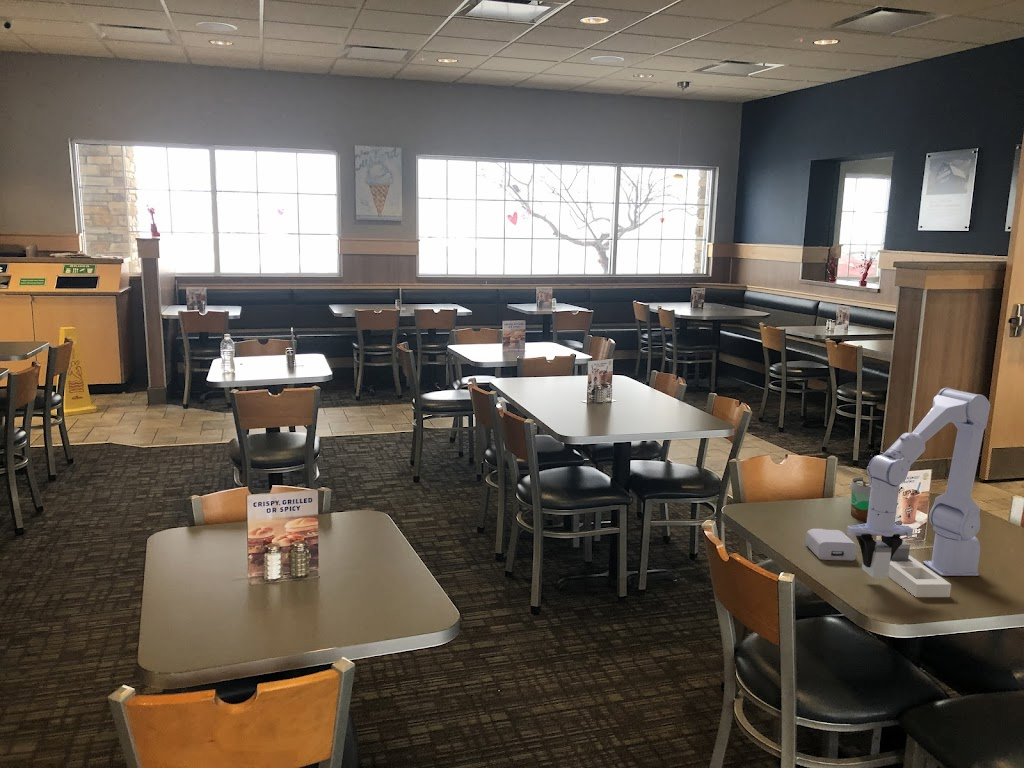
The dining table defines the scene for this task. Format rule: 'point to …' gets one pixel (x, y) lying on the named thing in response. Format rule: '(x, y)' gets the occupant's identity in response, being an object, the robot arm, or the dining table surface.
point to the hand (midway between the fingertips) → (875, 565)
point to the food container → (860, 498)
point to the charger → (831, 544)
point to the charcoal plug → (901, 553)
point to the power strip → (918, 579)
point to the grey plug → (879, 561)
